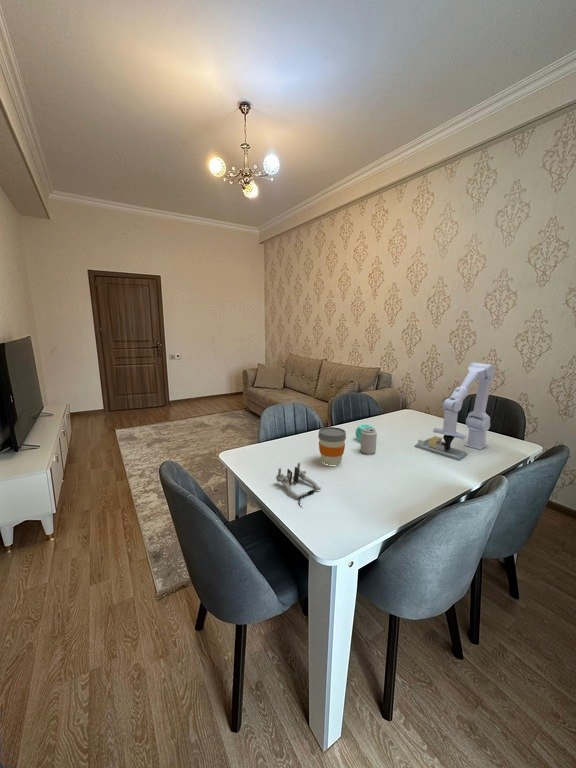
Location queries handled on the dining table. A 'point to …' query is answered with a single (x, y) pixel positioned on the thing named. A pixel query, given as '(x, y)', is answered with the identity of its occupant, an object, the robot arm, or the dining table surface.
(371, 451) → the can
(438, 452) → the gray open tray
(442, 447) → the free jaw
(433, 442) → the wooden block
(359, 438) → the teal ball
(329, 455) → the reusable coffee cup
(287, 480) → the bike brake
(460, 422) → the dining table surface
